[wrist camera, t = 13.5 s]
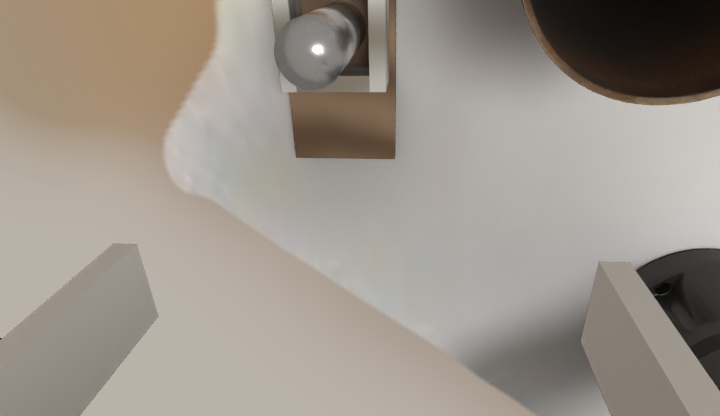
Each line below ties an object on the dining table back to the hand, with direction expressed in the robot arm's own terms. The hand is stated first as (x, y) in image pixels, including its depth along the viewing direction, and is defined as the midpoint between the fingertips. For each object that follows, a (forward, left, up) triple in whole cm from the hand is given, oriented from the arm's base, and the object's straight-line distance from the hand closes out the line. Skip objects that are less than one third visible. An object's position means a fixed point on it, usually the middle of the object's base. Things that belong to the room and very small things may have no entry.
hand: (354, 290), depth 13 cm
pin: (+4, +4, -28) cm, 28 cm away
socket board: (0, +5, -29) cm, 29 cm away
